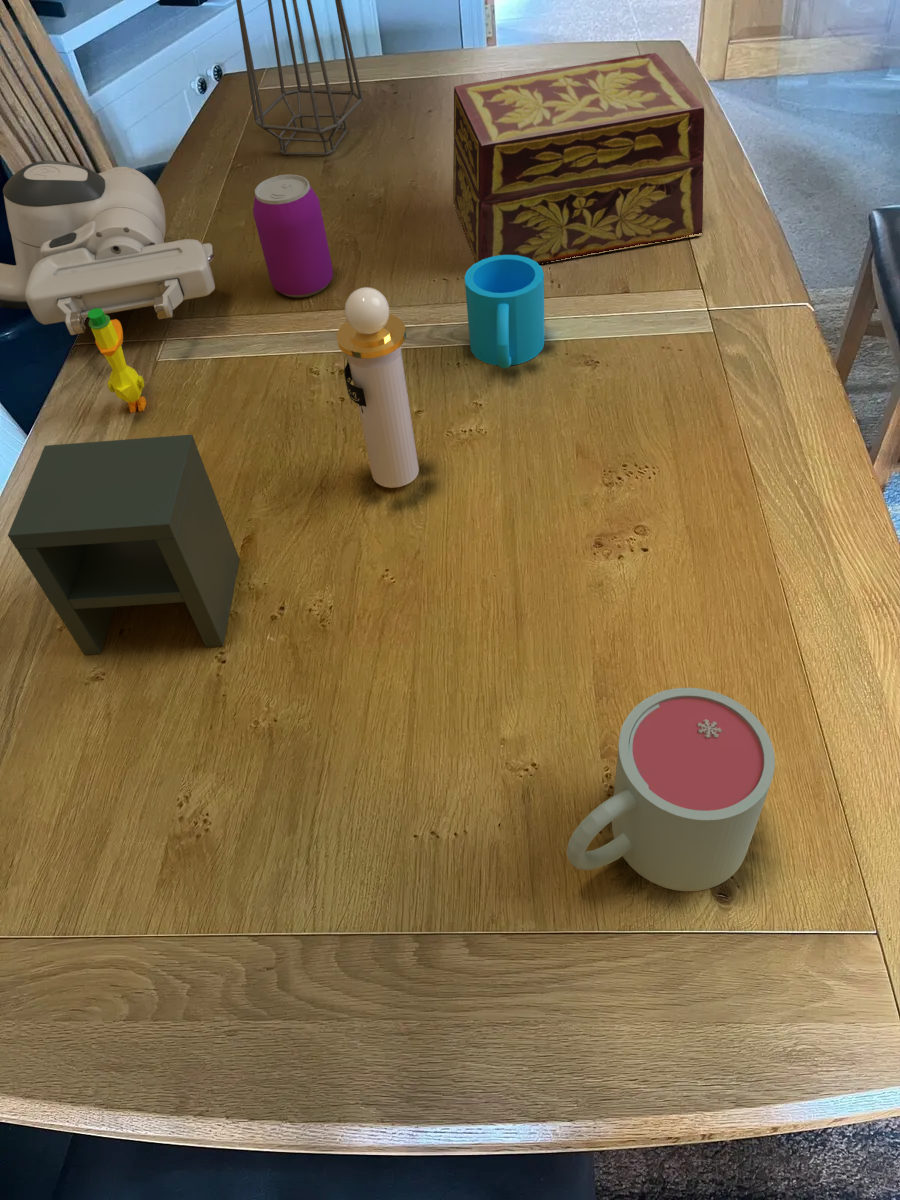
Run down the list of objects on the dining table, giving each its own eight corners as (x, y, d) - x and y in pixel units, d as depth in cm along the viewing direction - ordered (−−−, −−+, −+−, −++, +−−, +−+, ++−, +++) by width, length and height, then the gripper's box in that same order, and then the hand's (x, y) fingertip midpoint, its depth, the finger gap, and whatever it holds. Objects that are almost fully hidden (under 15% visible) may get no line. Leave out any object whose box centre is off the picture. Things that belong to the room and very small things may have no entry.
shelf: (83, 655, 79) (7, 535, 68) (110, 567, 85) (44, 445, 74) (223, 646, 78) (168, 524, 67) (239, 558, 85) (192, 434, 74)
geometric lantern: (290, 118, 146) (230, -166, 120) (383, 123, 142) (343, -170, 115) (245, 165, 137) (170, -132, 110) (344, 171, 133) (291, -135, 106)
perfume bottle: (414, 450, 92) (386, 264, 77) (434, 486, 89) (409, 298, 73) (359, 468, 91) (319, 283, 76) (377, 505, 88) (339, 318, 72)
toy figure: (124, 389, 103) (82, 291, 94) (156, 383, 103) (117, 286, 94) (119, 427, 99) (74, 329, 90) (152, 421, 99) (111, 323, 90)
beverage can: (289, 264, 117) (266, 169, 108) (344, 270, 115) (326, 173, 106) (261, 297, 113) (235, 201, 104) (319, 304, 111) (297, 207, 102)
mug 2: (691, 746, 68) (708, 665, 61) (778, 849, 63) (808, 773, 55) (530, 835, 65) (526, 761, 57) (606, 952, 59) (614, 887, 52)
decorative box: (654, 169, 125) (664, 46, 114) (703, 237, 113) (719, 107, 102) (452, 204, 124) (442, 83, 112) (480, 276, 112) (471, 149, 100)
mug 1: (472, 323, 105) (466, 256, 99) (544, 320, 105) (544, 253, 98) (465, 389, 98) (459, 321, 92) (544, 387, 97) (543, 318, 91)
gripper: (221, 265, 112) (223, 328, 103) (49, 295, 111) (37, 362, 102) (205, 214, 107) (207, 276, 98) (26, 245, 106) (11, 311, 97)
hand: (119, 320), depth 100 cm, fingers open, 8 cm apart
